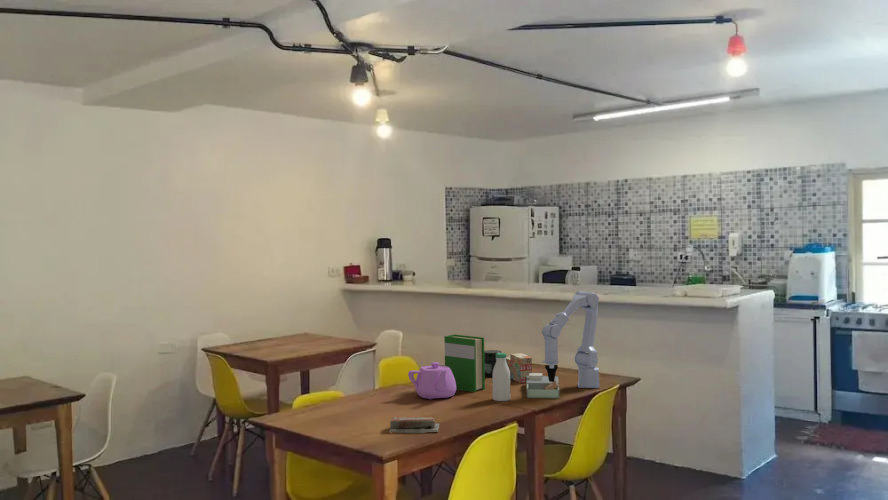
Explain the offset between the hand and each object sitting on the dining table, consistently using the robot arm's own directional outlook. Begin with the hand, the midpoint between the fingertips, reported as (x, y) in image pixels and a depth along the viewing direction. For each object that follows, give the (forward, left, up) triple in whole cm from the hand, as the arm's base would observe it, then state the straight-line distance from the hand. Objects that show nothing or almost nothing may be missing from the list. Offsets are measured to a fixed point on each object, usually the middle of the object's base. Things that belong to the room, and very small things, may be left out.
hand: (551, 381), depth 321 cm
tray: (+4, +5, -5) cm, 8 cm away
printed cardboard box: (+16, -30, -5) cm, 34 cm away
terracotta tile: (0, +2, -3) cm, 4 cm away
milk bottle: (+22, +14, -5) cm, 27 cm away
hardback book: (+40, -7, -5) cm, 41 cm away
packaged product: (+52, +63, -6) cm, 82 cm away
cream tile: (+7, -11, -1) cm, 13 cm away
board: (+4, -9, -5) cm, 11 cm away
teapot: (+51, +10, -5) cm, 52 cm away
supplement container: (+29, -38, -5) cm, 48 cm away
